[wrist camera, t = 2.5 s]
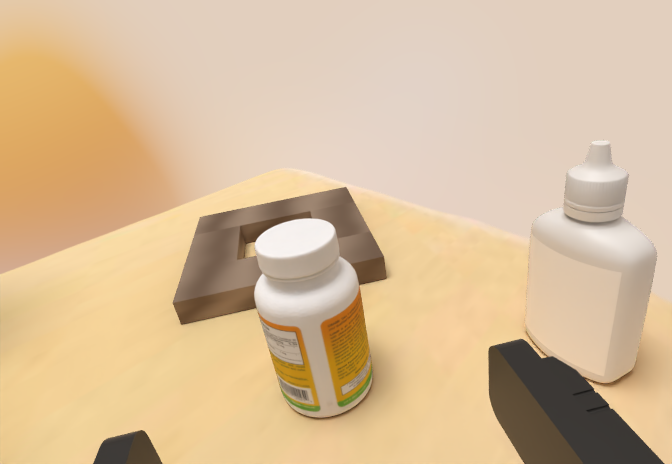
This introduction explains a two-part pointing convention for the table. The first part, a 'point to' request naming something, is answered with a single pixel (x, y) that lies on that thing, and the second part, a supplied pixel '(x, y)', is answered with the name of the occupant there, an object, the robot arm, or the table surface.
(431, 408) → the table surface
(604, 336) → the eye dropper bottle
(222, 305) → the socket plate
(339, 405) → the supplement bottle
